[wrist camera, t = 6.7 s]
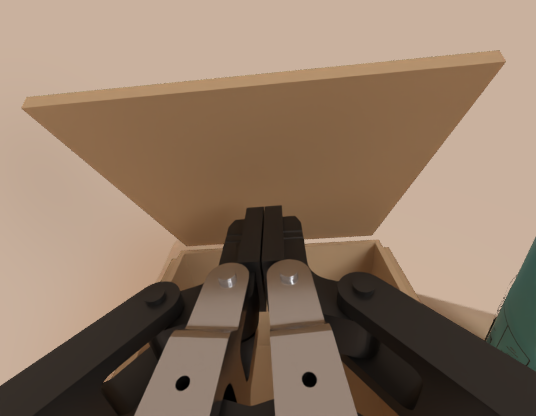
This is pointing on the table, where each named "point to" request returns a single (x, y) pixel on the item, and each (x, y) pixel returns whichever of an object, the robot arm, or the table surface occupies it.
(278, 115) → the carton flap
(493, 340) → the beverage bottle
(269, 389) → the carton
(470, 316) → the table surface
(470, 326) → the table surface
